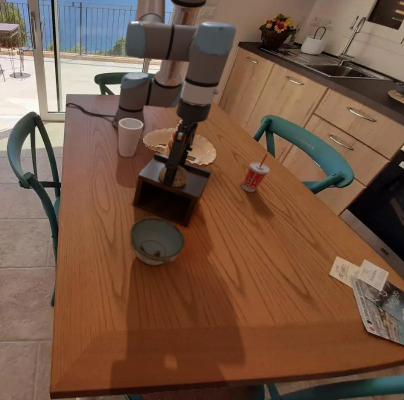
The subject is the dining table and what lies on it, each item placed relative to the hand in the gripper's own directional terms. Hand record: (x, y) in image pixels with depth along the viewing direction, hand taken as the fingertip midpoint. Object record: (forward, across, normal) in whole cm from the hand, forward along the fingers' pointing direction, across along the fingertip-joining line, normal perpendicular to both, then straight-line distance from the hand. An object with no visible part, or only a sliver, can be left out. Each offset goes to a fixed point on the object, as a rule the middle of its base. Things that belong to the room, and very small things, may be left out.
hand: (172, 177), depth 78 cm
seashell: (0, 0, 0) cm, 0 cm away
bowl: (+12, -20, -4) cm, 24 cm away
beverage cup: (+12, +28, -22) cm, 38 cm away
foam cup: (+12, +23, +25) cm, 36 cm away
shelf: (+12, +2, 0) cm, 12 cm away
